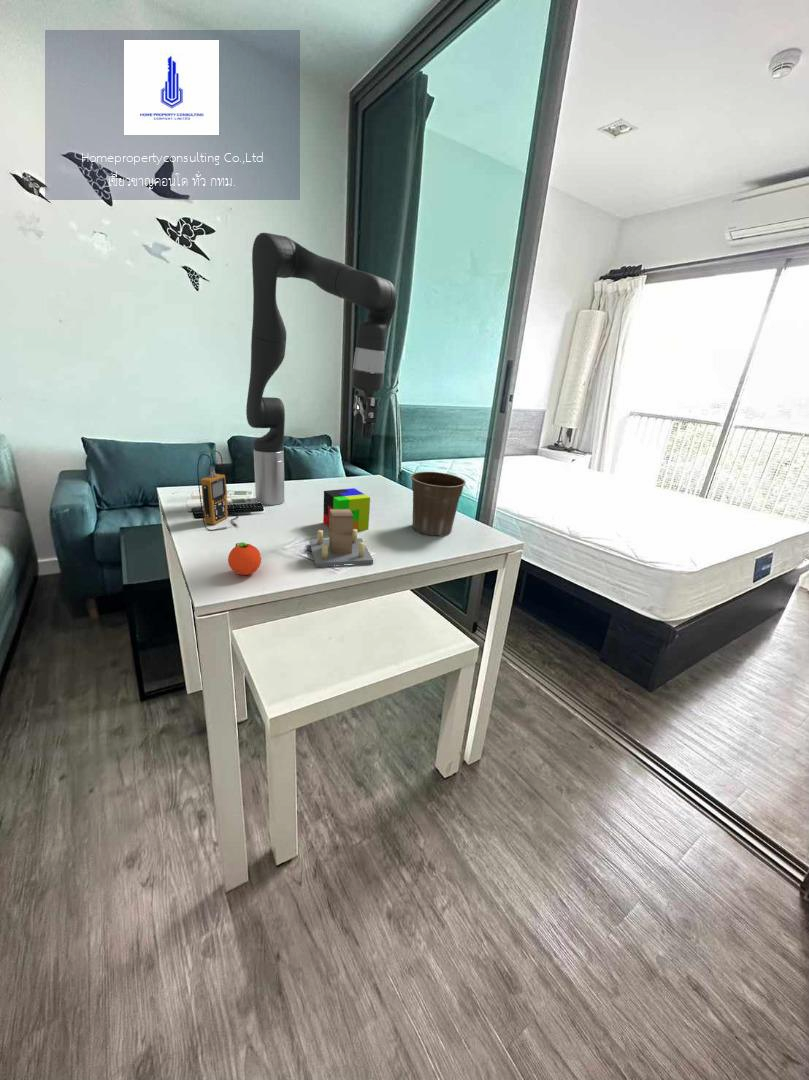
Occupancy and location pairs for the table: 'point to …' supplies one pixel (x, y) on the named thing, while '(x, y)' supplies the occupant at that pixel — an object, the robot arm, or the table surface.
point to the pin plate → (326, 558)
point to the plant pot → (435, 501)
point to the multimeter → (214, 497)
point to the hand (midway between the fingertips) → (361, 434)
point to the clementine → (244, 559)
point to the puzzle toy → (348, 506)
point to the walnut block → (340, 531)
